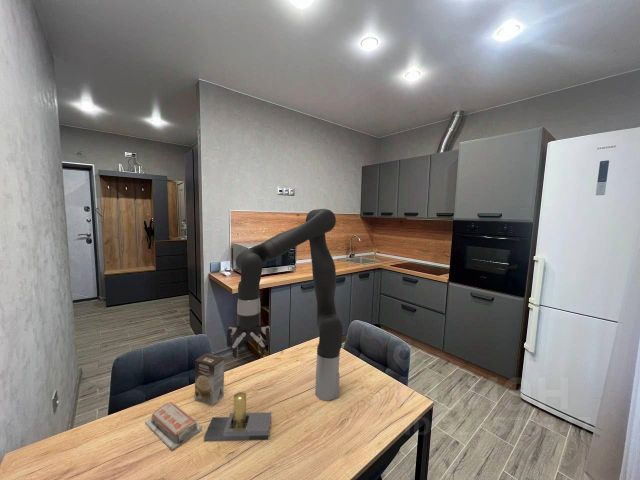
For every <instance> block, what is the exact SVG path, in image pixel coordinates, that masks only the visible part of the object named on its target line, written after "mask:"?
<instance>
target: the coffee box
mask: <svg viewBox="0 0 640 480" xmlns="http://www.w3.org/2000/svg"><path fill="white" fill-rule="evenodd" d="M194 362H195V364H194V365H195V368H194V369H195V371H194V401H195V400H196V401H197V402H201V403H203V404H206V405H209V406H212V407H213V406H215V405H216V404H217V403H218V402H219V401H220V400H221V399H222V398H223V397H224V395H225V394H224V391H225V357H224V356H220V355H217V354H214V353H210V352H206V353H204V354H203V355H201V356H199V357H198V358H197V359H195V361H194Z"/></svg>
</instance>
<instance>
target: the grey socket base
mask: <svg viewBox="0 0 640 480" xmlns="http://www.w3.org/2000/svg"><path fill="white" fill-rule="evenodd" d="M271 423H272V412H246V428H236V429H233V412H231V413H230V414H229V416H226V417H224V416H223V417H222V416H221V417H219V416H217V417H212V418H211V420H210V422H209V424H208V426H207V429H206V431H205V434H204V436H203V442H222V441H223V442H226V441H232V442H233V441H266V440H269V437H270V432H271V431H270V430H271Z"/></svg>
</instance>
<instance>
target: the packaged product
mask: <svg viewBox="0 0 640 480" xmlns="http://www.w3.org/2000/svg"><path fill="white" fill-rule="evenodd" d="M144 422H145V424H146V426H147V427H148V428H149V429H150V430H151V431H152V432H153V433H154V434H155V435H156V436H157V437H158V438H159V439H160V440H161V441H162V442H163V443H164V444H165V445H166V446H167V447H168V448H169V449H170V450H171V451H174V450H176V449H177V448H179V447H180V446H182V445H184V444H185V443H186V442H188V441H189V440H190V439H192V438H193V437H195V436H196V435H197V434H199V433H200V432H202V431H203V429H202V428H203V427H202V425H200V423H198V422H197V421H196V420H195V419H193V418H192V417H191V416H190V415H189V414H187V413H186V412H185V411H184V410H182V408H181V407H179V406H178V405H176V404H175V403H173V402H172V401H170V402H165V403H164V404H163V405H161V406H160V407H159V408H158V409H156V410H155V411H153V413H152V414H151V417H150V418H149V419H147V420H146V421H144Z"/></svg>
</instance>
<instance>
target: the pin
mask: <svg viewBox="0 0 640 480" xmlns="http://www.w3.org/2000/svg"><path fill="white" fill-rule="evenodd" d="M232 408H233V411H232V413H233V426H232V429H236V428H246V427H247V424H246V413H247V393H245V392H244V391H240V392H239V391H238V392H236V393H235V394H234V395H233V407H232Z"/></svg>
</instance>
